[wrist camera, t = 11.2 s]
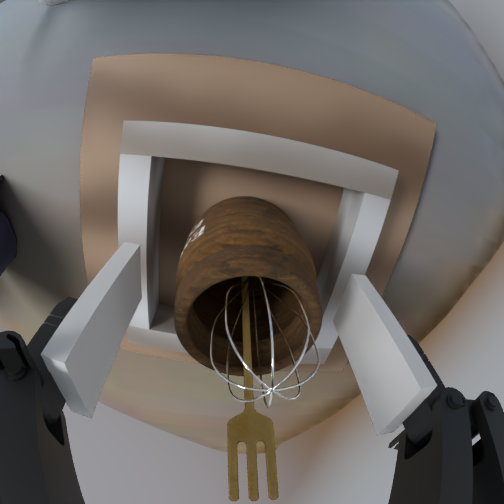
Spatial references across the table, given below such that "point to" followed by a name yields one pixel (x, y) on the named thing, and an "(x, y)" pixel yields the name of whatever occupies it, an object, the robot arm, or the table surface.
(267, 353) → the utensil holder
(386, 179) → the socket plate
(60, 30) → the table surface
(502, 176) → the table surface
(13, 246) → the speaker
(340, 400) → the table surface
